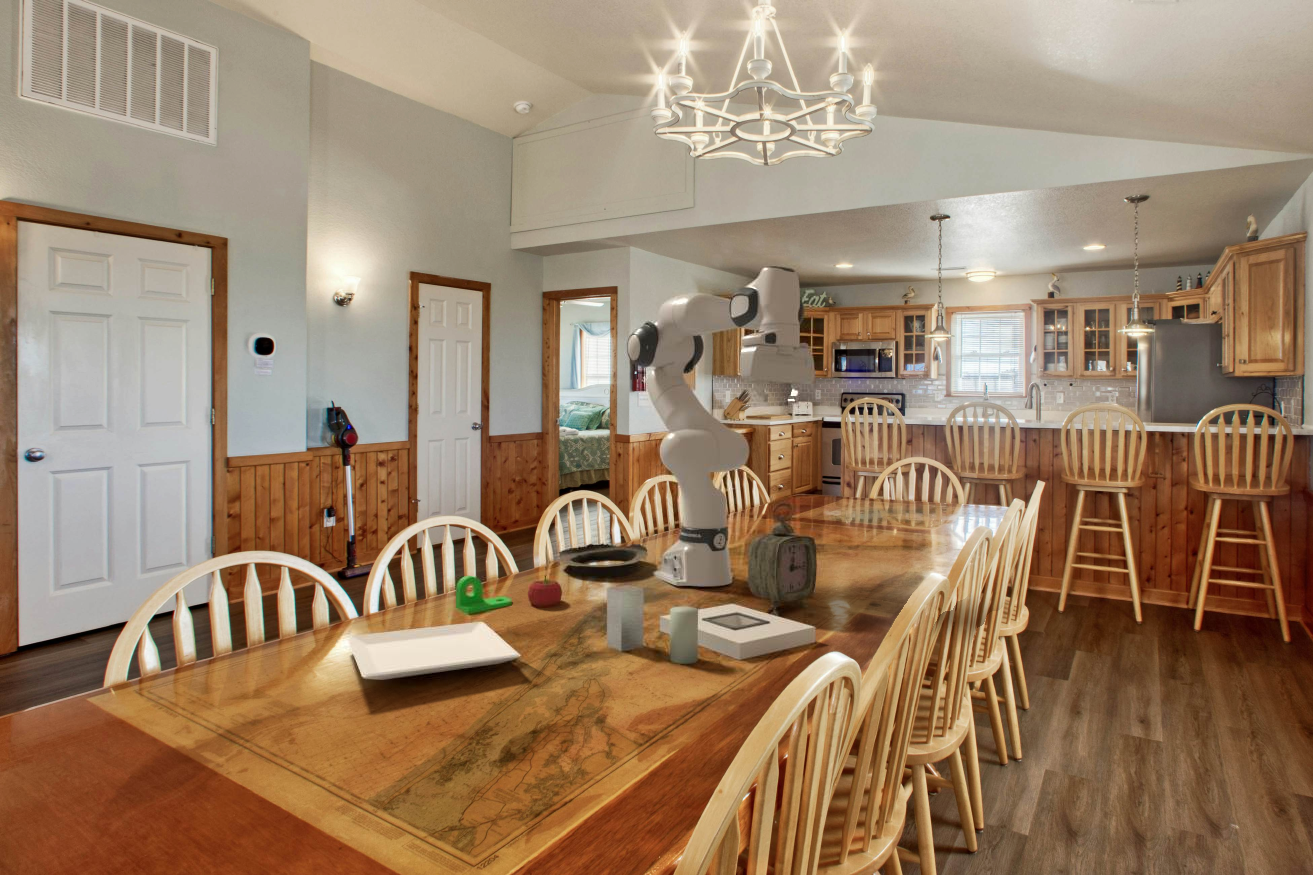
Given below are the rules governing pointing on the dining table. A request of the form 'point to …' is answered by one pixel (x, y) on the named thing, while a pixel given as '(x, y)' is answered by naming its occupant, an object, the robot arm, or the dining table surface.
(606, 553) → the stone bowl
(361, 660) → the plate
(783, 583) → the tabletop clock
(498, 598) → the mechanical part
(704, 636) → the socket board
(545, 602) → the tomato
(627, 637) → the square peg
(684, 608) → the round peg
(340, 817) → the dining table surface
